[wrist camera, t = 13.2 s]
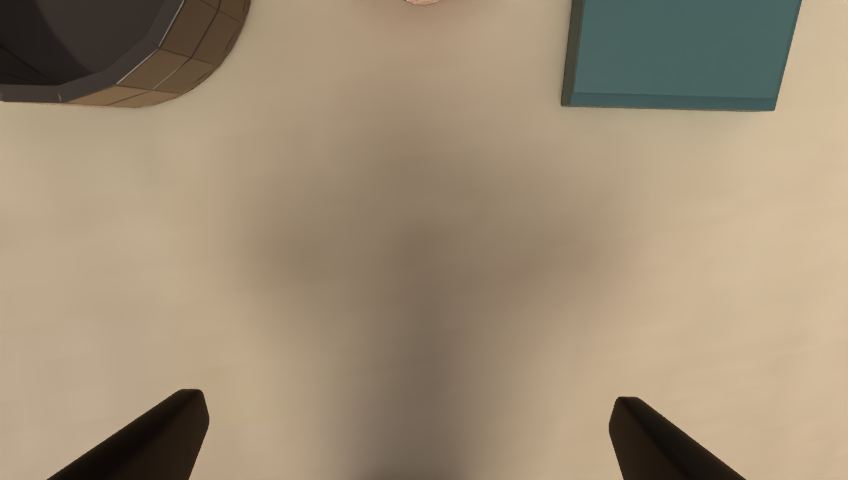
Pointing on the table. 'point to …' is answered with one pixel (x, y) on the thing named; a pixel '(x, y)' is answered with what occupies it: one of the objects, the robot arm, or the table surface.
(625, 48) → the teal flat block
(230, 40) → the pan
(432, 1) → the smoothie
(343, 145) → the table surface
